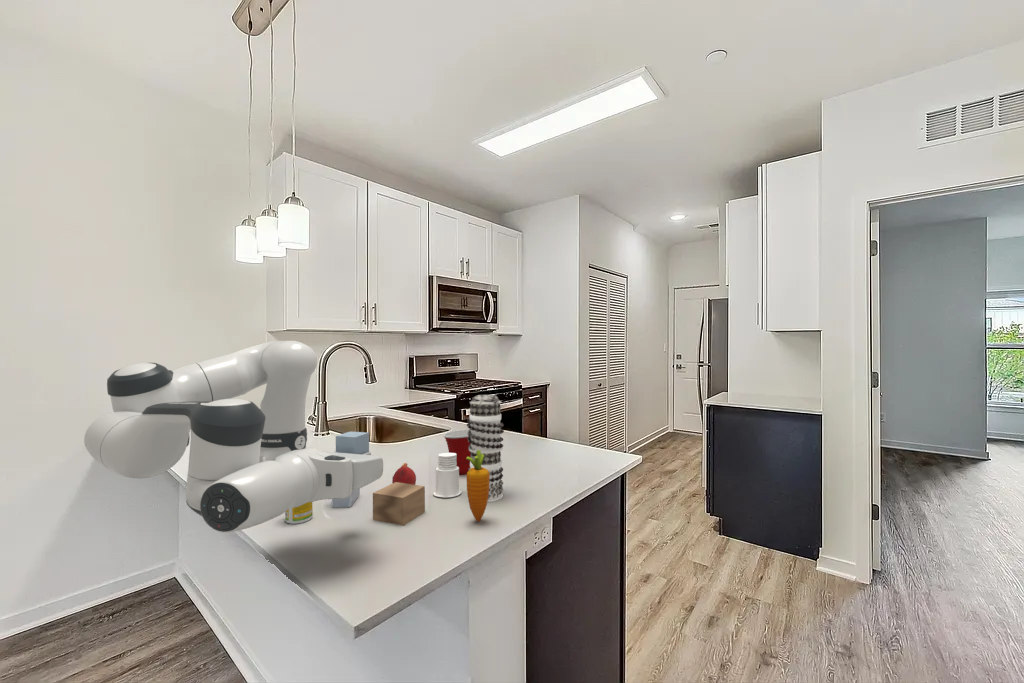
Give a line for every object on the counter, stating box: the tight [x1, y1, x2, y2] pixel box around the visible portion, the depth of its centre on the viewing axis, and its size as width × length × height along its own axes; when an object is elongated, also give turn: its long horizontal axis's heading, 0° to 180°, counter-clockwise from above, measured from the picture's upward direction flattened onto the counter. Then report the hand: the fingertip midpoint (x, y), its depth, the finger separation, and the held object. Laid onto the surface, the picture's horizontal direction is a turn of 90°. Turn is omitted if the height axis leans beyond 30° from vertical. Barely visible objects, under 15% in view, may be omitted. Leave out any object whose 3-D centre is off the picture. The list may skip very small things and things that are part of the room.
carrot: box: [465, 450, 490, 523], centre depth 95 cm, size 5×5×15 cm
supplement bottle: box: [284, 502, 314, 525], centre depth 97 cm, size 5×5×10 cm
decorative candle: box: [466, 394, 505, 503], centre depth 110 cm, size 9×9×25 cm
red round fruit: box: [391, 462, 417, 485], centre depth 112 cm, size 6×6×8 cm
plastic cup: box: [442, 428, 471, 476], centre depth 131 cm, size 11×11×12 cm
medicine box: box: [331, 488, 361, 508], centre depth 107 cm, size 8×4×9 cm, turn 5°
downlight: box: [432, 452, 462, 499], centre depth 113 cm, size 8×7×10 cm
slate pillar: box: [335, 431, 370, 454], centre depth 89 cm, size 4×4×10 cm
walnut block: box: [372, 482, 426, 526], centre depth 98 cm, size 8×8×6 cm
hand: (355, 455), depth 90 cm, fingers closed on slate pillar, 4 cm apart
